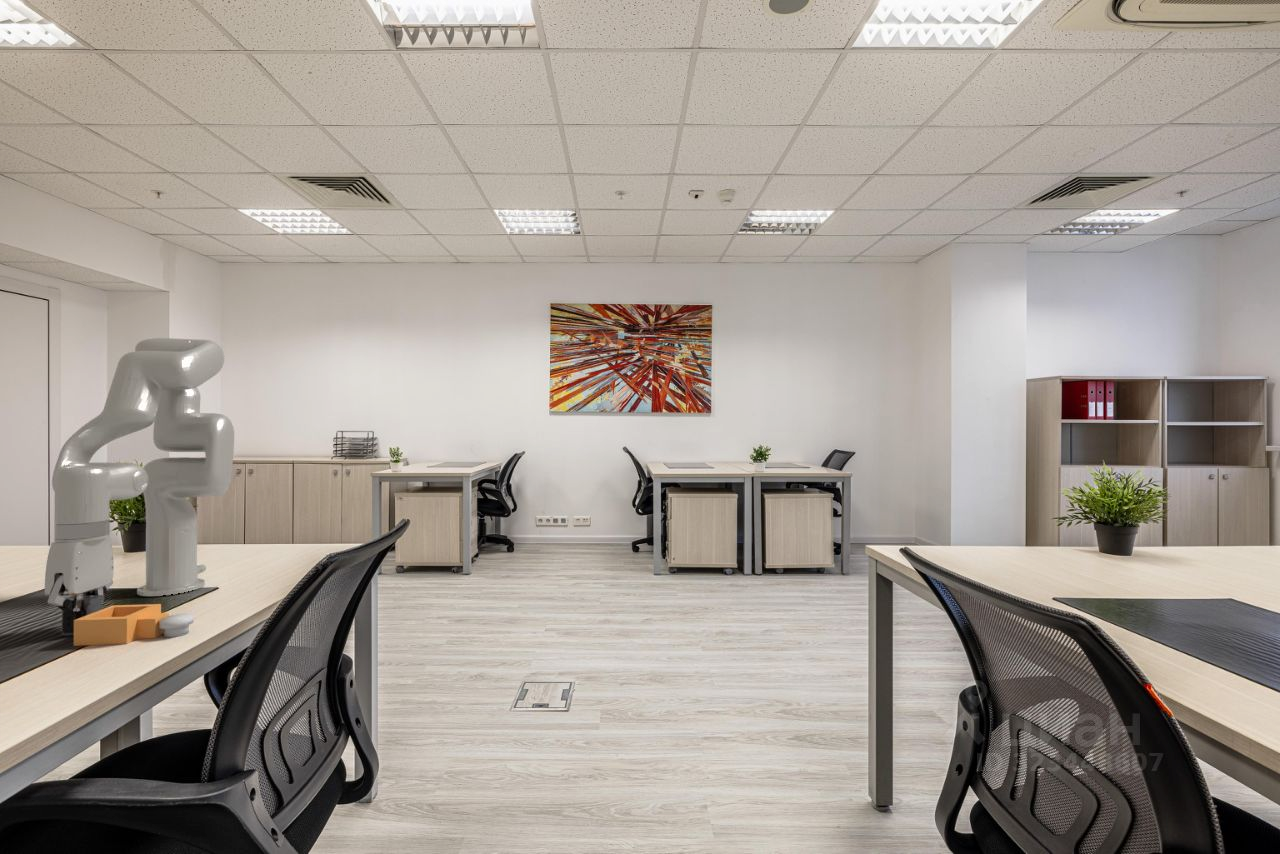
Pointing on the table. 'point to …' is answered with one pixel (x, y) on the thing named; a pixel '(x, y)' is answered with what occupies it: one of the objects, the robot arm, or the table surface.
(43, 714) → the table surface
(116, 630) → the orange handled frame
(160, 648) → the table surface
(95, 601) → the grey rectangular block
